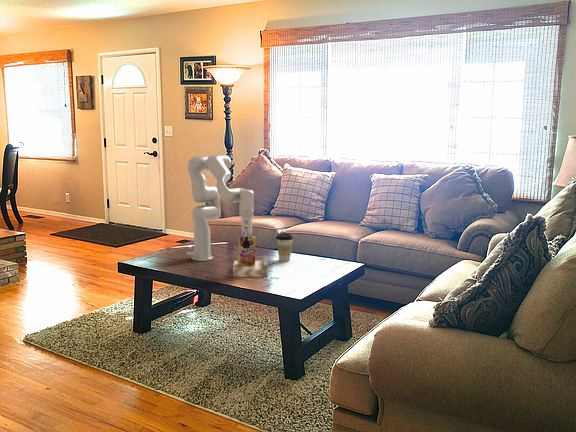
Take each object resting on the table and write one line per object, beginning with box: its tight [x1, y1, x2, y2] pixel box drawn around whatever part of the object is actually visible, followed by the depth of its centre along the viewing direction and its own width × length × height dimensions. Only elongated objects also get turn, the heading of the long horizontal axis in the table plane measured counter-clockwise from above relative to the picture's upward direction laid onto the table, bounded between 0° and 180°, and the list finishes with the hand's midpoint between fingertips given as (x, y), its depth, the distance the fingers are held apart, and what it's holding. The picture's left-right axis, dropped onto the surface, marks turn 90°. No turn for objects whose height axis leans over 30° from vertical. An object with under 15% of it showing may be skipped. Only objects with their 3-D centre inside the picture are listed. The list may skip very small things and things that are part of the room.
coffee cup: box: [275, 233, 294, 263], centre depth 333 cm, size 10×10×15 cm
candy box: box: [237, 235, 256, 265], centre depth 306 cm, size 9×4×15 cm, turn 102°
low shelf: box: [232, 255, 268, 278], centre depth 307 cm, size 18×18×6 cm
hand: (246, 246), depth 305 cm, fingers closed on candy box, 4 cm apart
